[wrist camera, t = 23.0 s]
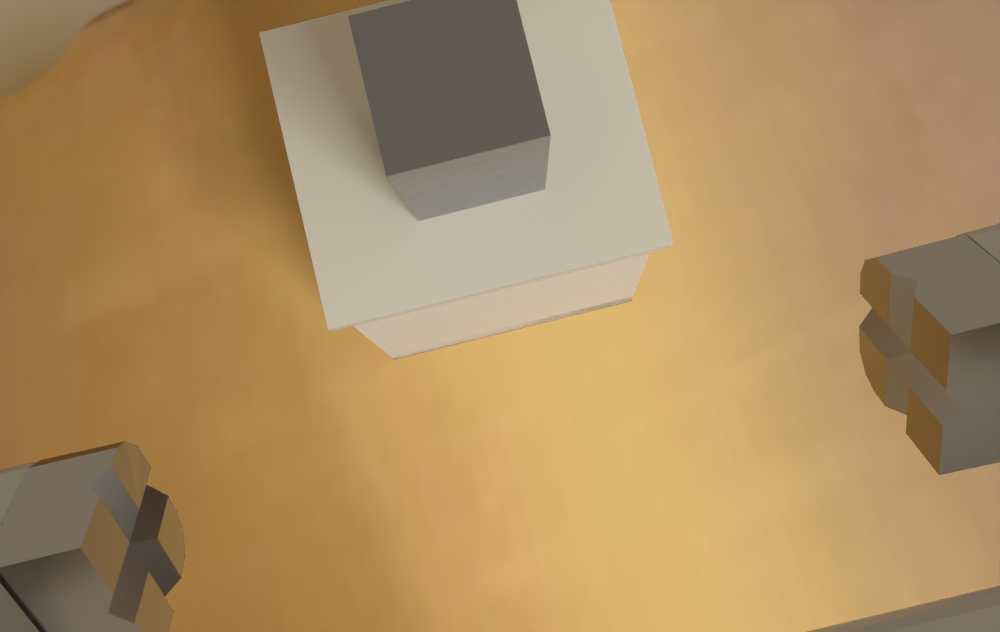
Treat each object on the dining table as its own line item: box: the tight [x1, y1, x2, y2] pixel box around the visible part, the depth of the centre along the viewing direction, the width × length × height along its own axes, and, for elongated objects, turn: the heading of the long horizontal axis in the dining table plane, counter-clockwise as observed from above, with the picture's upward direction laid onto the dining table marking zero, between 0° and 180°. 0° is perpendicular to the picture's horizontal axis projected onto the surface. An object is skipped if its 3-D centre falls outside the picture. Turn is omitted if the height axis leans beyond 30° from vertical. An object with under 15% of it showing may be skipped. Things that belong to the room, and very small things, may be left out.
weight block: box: [348, 0, 551, 221], centre depth 31 cm, size 5×5×8 cm
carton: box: [354, 252, 650, 359], centre depth 41 cm, size 12×12×9 cm
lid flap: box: [259, 0, 674, 331], centre depth 35 cm, size 14×12×1 cm
